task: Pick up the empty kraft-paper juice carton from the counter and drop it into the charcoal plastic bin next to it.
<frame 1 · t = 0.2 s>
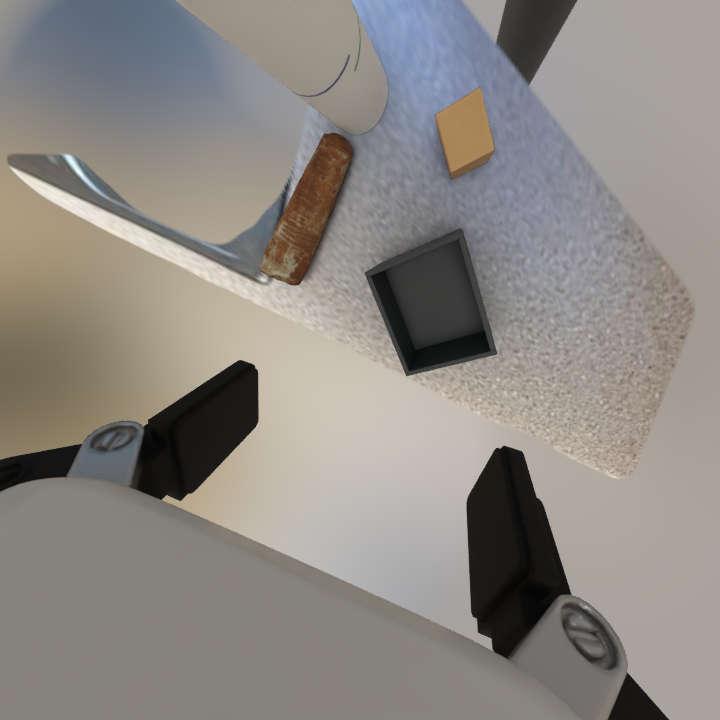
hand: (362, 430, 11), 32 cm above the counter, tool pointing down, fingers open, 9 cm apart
cylindrical container: (357, 96, 32), on the counter
bread: (312, 212, 39), on the counter
carton: (463, 147, 31), on the counter
bin: (434, 297, 39), on the counter
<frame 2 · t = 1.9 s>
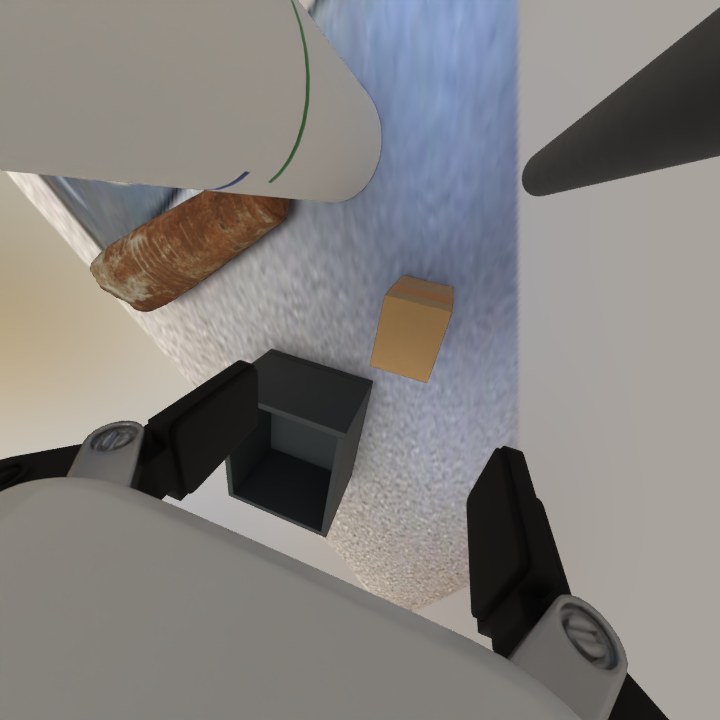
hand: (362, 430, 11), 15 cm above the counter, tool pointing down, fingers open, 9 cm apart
cylindrical container: (333, 144, 20), on the counter
bread: (211, 234, 26), on the counter
carton: (419, 311, 23), on the counter
bin: (314, 417, 32), on the counter
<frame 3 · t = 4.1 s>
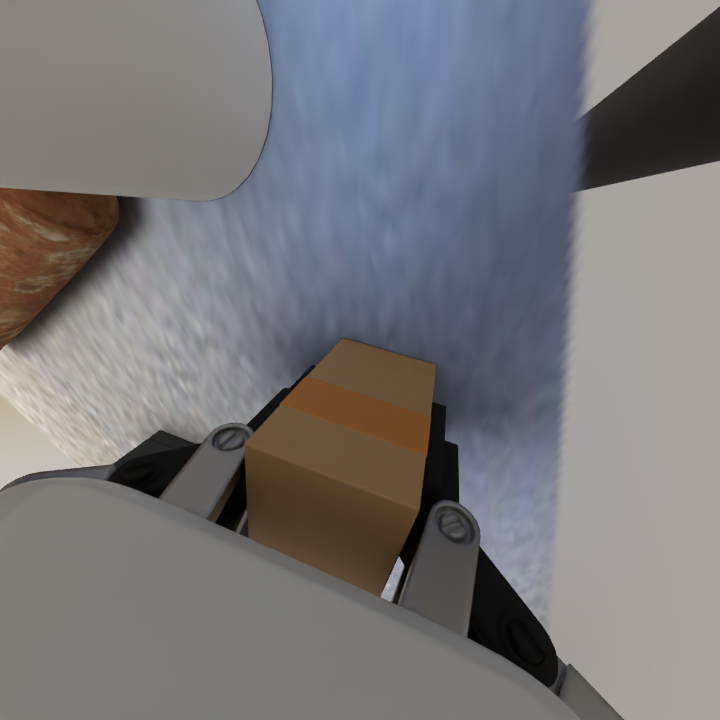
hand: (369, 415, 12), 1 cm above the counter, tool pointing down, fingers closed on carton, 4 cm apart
cylindrical container: (181, 80, 10), on the counter
bread: (33, 255, 15), on the counter
carton: (376, 398, 13), on the counter, touching gripper
bin: (236, 523, 21), on the counter
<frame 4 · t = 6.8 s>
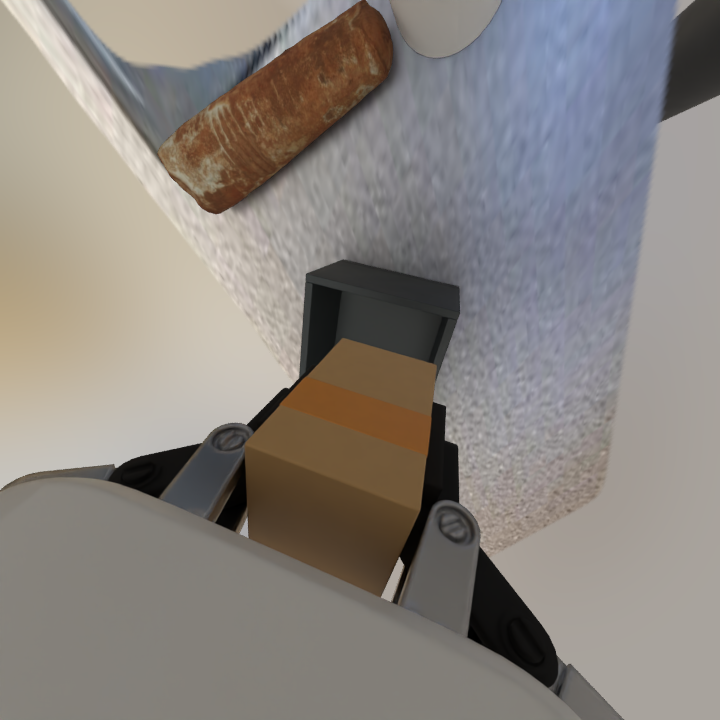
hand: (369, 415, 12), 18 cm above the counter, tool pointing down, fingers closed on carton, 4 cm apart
bread: (288, 120, 24), on the counter
carton: (376, 399, 13), point 17 cm above the counter, touching gripper
bin: (383, 340, 30), on the counter
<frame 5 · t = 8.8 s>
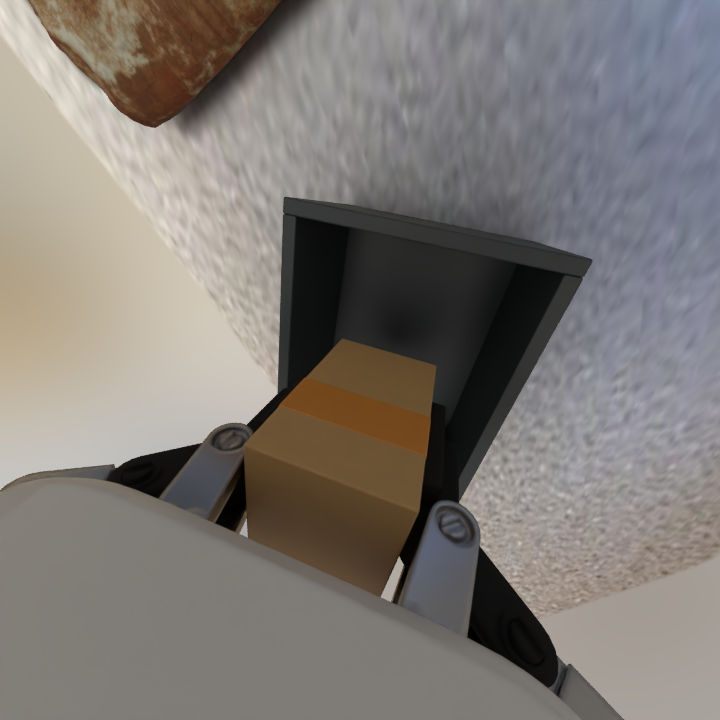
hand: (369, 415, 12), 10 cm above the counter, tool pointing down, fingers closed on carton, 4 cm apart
carton: (375, 399, 13), point 9 cm above the counter, touching gripper
bin: (406, 330, 20), on the counter
when the fingers open (7 cm above the counter, at t = 10.0 s): carton drops 5 cm, resting on bin.
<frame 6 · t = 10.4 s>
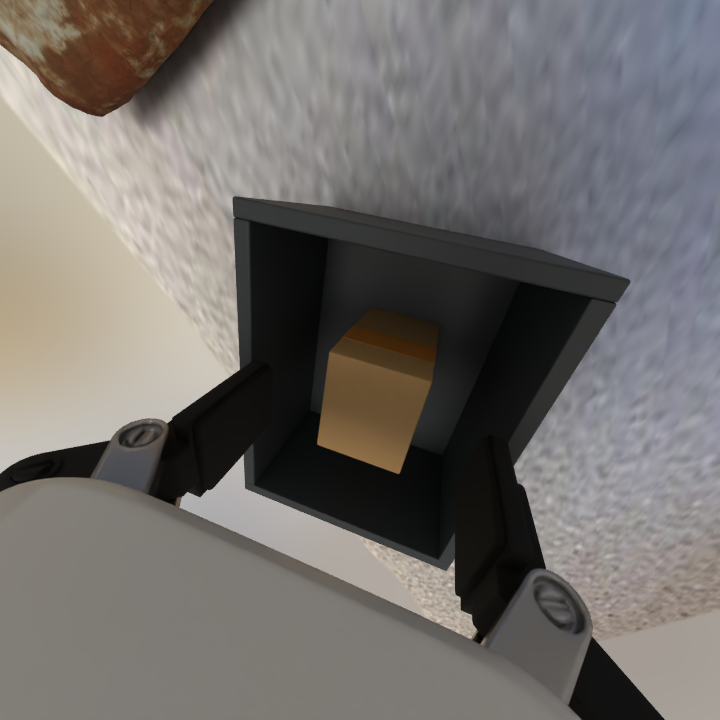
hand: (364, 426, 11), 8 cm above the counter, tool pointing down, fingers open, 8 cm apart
carton: (394, 353, 17), point 1 cm above the counter, touching bin
bin: (396, 348, 18), on the counter
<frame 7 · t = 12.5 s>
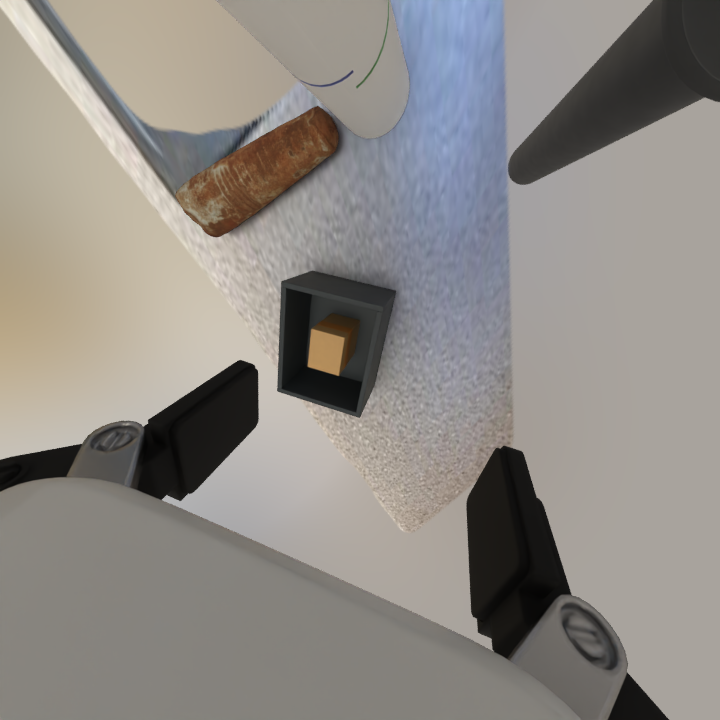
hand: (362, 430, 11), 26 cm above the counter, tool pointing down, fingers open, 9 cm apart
cylindrical container: (372, 93, 27), on the counter
bread: (270, 172, 33), on the counter
carton: (343, 334, 38), point 1 cm above the counter, touching bin
bin: (345, 332, 39), on the counter
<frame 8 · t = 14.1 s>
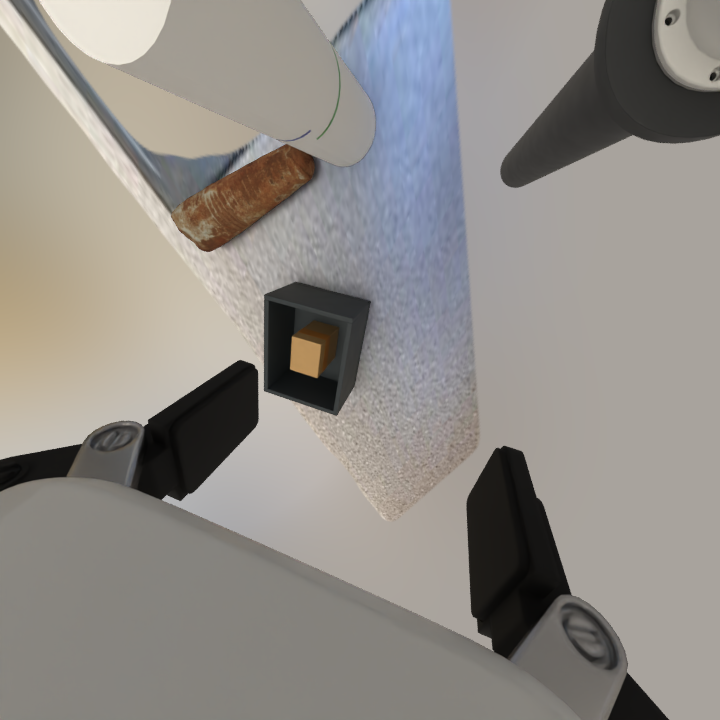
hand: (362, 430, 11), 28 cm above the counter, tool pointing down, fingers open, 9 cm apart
cylindrical container: (344, 127, 31), on the counter
bread: (256, 193, 36), on the counter
carton: (324, 339, 42), point 1 cm above the counter, touching bin
bin: (326, 337, 42), on the counter
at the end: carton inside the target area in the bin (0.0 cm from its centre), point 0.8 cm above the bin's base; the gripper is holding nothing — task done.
